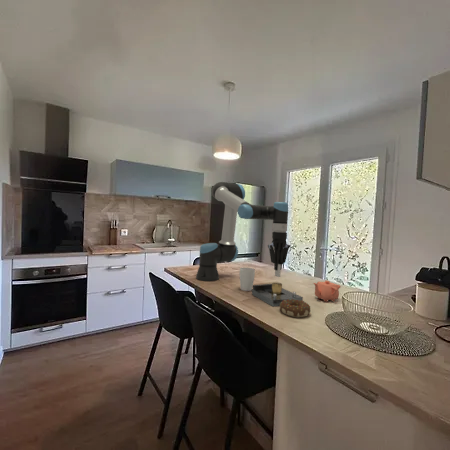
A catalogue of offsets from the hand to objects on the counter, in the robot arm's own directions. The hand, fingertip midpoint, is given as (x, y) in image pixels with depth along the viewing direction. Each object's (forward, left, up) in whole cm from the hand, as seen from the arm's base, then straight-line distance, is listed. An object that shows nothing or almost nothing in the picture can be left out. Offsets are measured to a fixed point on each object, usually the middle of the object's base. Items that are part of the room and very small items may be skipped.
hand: (277, 276), depth 140 cm
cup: (-20, -7, -12) cm, 24 cm away
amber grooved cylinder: (0, 0, -12) cm, 12 cm away
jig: (0, 0, -12) cm, 12 cm away
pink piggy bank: (+9, +26, -12) cm, 30 cm away
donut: (+19, -4, -12) cm, 23 cm away
